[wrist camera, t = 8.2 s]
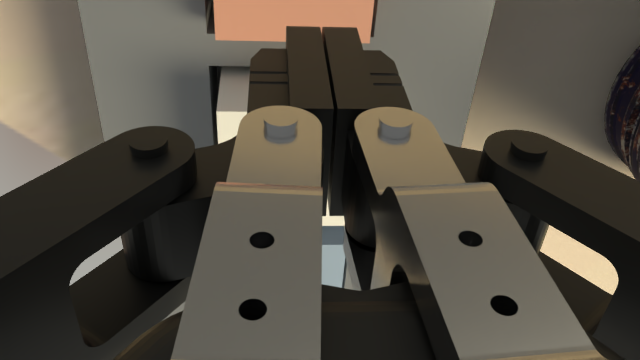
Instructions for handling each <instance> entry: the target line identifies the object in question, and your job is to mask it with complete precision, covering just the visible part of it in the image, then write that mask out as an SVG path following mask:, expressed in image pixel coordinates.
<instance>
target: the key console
mask: <svg viewBox="0 0 640 360" xmlns="http://www.w3.org/2000/svg"><path fill="white" fill-rule="evenodd" d="M77 2H78V7H79V13H80V18H81V23H82V28H83V33H84V39H85V44H86V49H87V54H88V60H89V65H90V70H91V75H92V80H93V86H94V91H95V96H96V101H97V107H98V112H99V117H100V122H101V128H102V133H103V138H104V142H105V141H107V140H109V139H111V138H113V137H115V136H117V135H119V134H121V133H123V132H125V131H128V130H131V129H135V128H139V127H146V126H165V127H171V128H175V129H178V130H181V131H183V132H185V133H186V134H188V135H189V136H190V137H191V138H192V140H193V141H194V144H195V149H196V148H201V147H207V146H212V145H216V144H218V131H217V113H216V111H217V102H218V94H219V85H220V77H221V68H222V66H250V61H251V58H252V57H253V56H254V55H255V54H256V53H257V52H258V51H259V50H260V49H261V48H276V49H286V42H278V41H229V40H215V22H214V2H213V0H77ZM495 2H496V0H374V9H373V18H372V26H371V35H370V43H362V47H363V50H381V51H382V52H383V53H384V54H386V55H387V56H388V57H389V58H391V59H392V60H393V61H394V62H395V65H396V67H397V70H398V73H399V76H400V78H401V81H402V83H403V84H402V86H404V89H405V91H406V94H407V97H408V99H409V102H410V105H411V107H412V110H413V111H414V112H417V113H419V114H421V115H423V116H424V117H426V118H427V119H429V120H430V121H431V122H432V124H433V125H434V127H435V128H436V130H437V132H438V134H439V136H440V137H441V139H442V141H443V143H446V144H449V145H452V146H456V147H461V144H462V140H463V136H464V132H465V128H466V123H467V119H468V115H469V111H470V107H471V102H472V98H473V94H474V90H475V86H476V81H477V77H478V73H479V69H480V65H481V60H482V56H483V52H484V48H485V44H486V39H487V35H488V31H489V27H490V23H491V18H492V14H493V10H494V6H495ZM342 288H346V289H351V290H353V286H352V282H351V278H350V274H349V270H348V266H347V262H346V258H345V264H344V273H343V282H342ZM184 305H185V302H184V303H182V304H181V305H180V306H179V307H178V308H177V309H175V310H174V311H173V312H172V313H171V314H169V315H168V316H167V317H166V318H168V317H170V316H172V315H174V314H176V313H179V312H181V311H183V309H184ZM166 318H165V319H166ZM165 319H164V320H165ZM162 321H163V320H162Z"/></svg>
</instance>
